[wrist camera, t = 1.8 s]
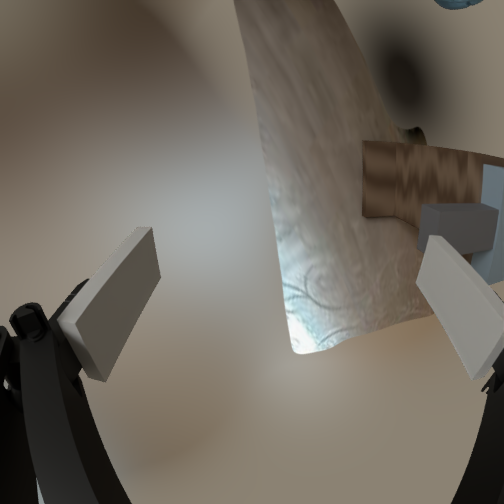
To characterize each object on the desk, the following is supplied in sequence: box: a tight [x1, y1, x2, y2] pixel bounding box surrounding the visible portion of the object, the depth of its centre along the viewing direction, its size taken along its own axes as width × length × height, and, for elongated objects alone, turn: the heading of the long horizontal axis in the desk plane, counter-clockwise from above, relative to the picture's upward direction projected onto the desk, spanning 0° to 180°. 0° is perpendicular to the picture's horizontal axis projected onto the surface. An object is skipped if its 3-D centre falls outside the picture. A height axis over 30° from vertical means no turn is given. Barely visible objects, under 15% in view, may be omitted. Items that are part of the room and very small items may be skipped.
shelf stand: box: [362, 140, 504, 265], centre depth 35 cm, size 14×9×28 cm, turn 4°
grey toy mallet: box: [417, 164, 504, 285], centre depth 21 cm, size 12×17×3 cm
